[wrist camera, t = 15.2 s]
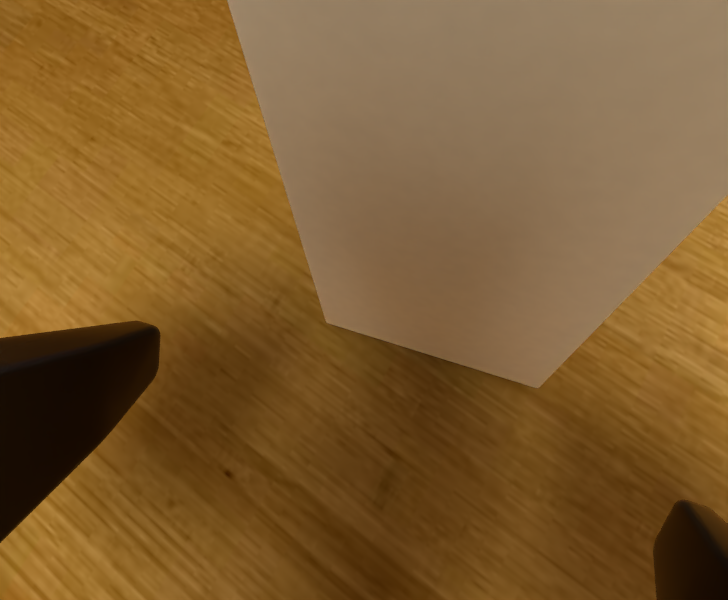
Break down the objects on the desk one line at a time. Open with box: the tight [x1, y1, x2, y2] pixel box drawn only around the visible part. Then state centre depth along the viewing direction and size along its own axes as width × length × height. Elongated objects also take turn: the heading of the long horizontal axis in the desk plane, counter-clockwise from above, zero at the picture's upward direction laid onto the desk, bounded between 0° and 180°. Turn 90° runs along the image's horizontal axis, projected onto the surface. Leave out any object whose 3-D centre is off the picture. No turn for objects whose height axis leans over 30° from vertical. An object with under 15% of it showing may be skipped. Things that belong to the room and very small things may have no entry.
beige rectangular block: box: [227, 0, 728, 388], centre depth 12 cm, size 3×7×13 cm, turn 71°
